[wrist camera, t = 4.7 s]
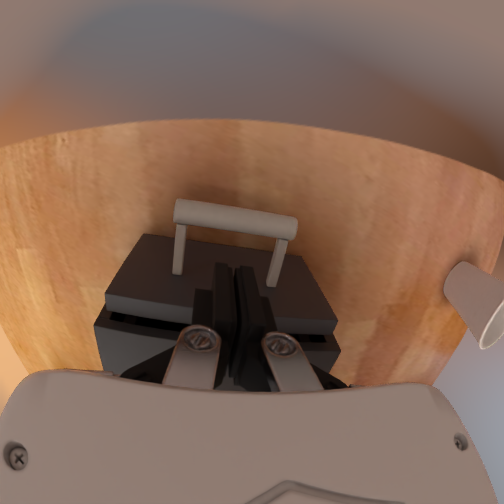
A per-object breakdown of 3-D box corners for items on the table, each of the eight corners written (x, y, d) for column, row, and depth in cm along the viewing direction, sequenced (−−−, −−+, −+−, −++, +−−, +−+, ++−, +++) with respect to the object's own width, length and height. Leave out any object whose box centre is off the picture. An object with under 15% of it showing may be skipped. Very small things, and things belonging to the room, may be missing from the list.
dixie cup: (459, 242, 26) (514, 282, 17) (482, 263, 28) (526, 298, 19) (426, 298, 29) (471, 348, 20) (453, 310, 31) (491, 352, 22)
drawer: (147, 176, 19) (100, 208, 11) (316, 203, 21) (368, 249, 13) (143, 337, 25) (125, 406, 17) (270, 351, 28) (285, 419, 20)
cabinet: (138, 246, 22) (93, 325, 13) (299, 269, 25) (341, 350, 15) (141, 348, 27) (122, 428, 18) (268, 362, 30) (284, 440, 20)
